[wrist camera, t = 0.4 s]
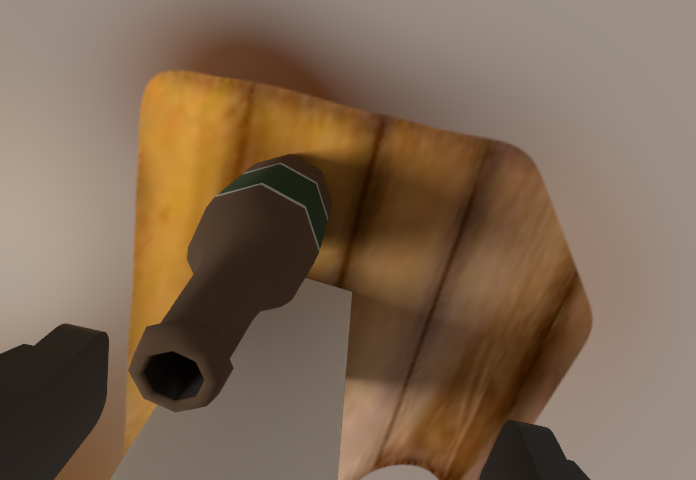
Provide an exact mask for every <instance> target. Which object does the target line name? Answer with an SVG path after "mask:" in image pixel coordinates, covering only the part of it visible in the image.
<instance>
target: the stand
mask: <svg viewBox="0 0 696 480" xmlns="http://www.w3.org/2000/svg"><path fill="white" fill-rule="evenodd" d="M351 302H352V291H348V290H345V289H342V288H338V287H335V286H331V285H328V284H325V283H321V282H318V281H315V280H311V279H308V278H305V279H304V281H303V283H302V284H301V286H300V288H299V289H298V291H297V293H296V294H295V296H294V298H293V300H292V301H290V302H289V303H287V304H285V305H284V306H282V307H279V308H274V309H270V310H265V311H261V312H260V313H259V314H258V315H257V316H256V317H255V318H254V319H253V321H252V322H251V324H250V326H249V327H248V329H247V331H246V333H245V334H244V336H243V338H242V339H241V341H240V343H239V344H238V346H237V348H236V350H235V351H234V353H233V355H232V356H231V358H230V361H231V363H232V365H233V367H234V369H233V370H232V372H231V374H230V376H229V377H228V379H227V381H226V383H225V385H224V386H223V388H222V390H221V392H220V393H219V395H218V396H217V397H216V398H215V399H214V400H213V401H212V402H211V403H210V404H209V405H208V406H206V407H201V408H196V409H191V410H186V411H181V412H176V413H175V412H173V411H171V410H169V409H166V408H164V407H162V406H160V405H157V406H156V408H155V409H154V411H153V412H152V414H151V416H150V417H149V419H148V420H147V422H146V423H145V425H144V427H143V428H142V430H141V431H140V433H139V435H138V436H137V438H136V439H135V441H134V442H133V444H132V446H131V447H130V449H129V450H128V452H127V454H126V455H125V457H124V458H123V460H122V461H121V463H120V465H119V466H118V468H117V470H116V471H115V473H114V474H113V476H112V477H111V479H110V480H338V467H339V454H340V442H341V429H342V416H343V404H344V391H345V378H346V366H347V353H348V340H349V327H350V315H351Z"/></svg>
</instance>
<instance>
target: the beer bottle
mask: <svg viewBox="0 0 696 480" xmlns="http://www.w3.org/2000/svg"><path fill="white" fill-rule="evenodd" d="M330 211H331V201H330V198H329V195H328V191H327V188H326V185H325V182H324V178H323V175H322V172H321V171H320V170H318V169H316V168H315V167H313V166H311V165H309V164H307V163H306V162H304V161H302V160H300V159H298V158H297V157H295V156H293V155H291V154H288V155H285V156H281V157H278V158H274V159H270V160H267V161H263V162H260V163H257V164H255V165H253V166H251V167H250V168H249V169H248V170H247V171H245V172H244V173H243V174H242V175H241V176H239V177H238V178H237V179H236V180H235V181H233V182H232V183H231V184H230V185H229V186H227V187H226V188H225V189H224V190H223V191H222V192H220V193H219V194H218V195H217V196H216V197H215V198H214V199H213V200H212V201H211V202H210V204H209V205H208V206H207V207H206V209H205V212H204V214H203V216H202V218H201V220H200V223H199V225H198V227H197V229H196V231H195V233H194V236H193V238H192V240H191V242H190V244H189V247H188V254H187V260H188V263H189V265H190V267H191V269H192V272H193V274H194V275H193V276H192V278H191V279H190V281H189V282H188V284H187V285H186V287H185V288H184V289H183V291H182V292H181V294H180V295H179V297H178V298H177V300H176V301H175V303H174V304H173V306H172V307H171V309H170V310H169V311H168V313H167V314H166V316H165V317H164V319H163V320H162V322H161V323H160V324H156V325H152V326H148V327H146V329H145V331H144V333H143V336H142V338H141V340H140V342H139V344H138V347H137V349H136V351H135V353H134V356H133V359H132V362H131V365H130V368H129V370H128V371H129V373H130V374H131V376H132V378H133V380H134V382H135V383H136V385H137V387H138V389H139V391H140V393H141V394H142V396H143V398H144V399H146V400H149V401H151V402H153V403H155V404H157V405H160V406H162V407H164V408H166V409H169V410H171V411H173V412H175V413H176V412H181V411H186V410H191V409H196V408H201V407H206V406H208V405H209V404H210V403H211V402H212V401H213V400H214V399H215V398H216V397H217V396H218V395H219V393H220V392H221V390H222V388H223V386H224V385H225V383H226V381H227V379H228V377H229V376H230V374H231V372H232V370H233V369H234V367H233V365H232V363H231V361H230V358H231V356H232V355H233V353H234V351H235V350H236V348H237V346H238V344H239V343H240V341H241V339H242V338H243V336H244V334H245V333H246V331H247V329H248V327H249V326H250V324H251V322H252V321H253V319H254V318H255V317H256V316H257V315H258V314H259V313H260V312H261V311H265V310H270V309H274V308H279V307H282V306H284V305H285V304H287V303H289V302H290V301H292V300H293V298H294V296H295V294H296V293H297V291H298V289H299V288H300V286H301V284H302V283H303V281H304V279H305V277H306V276H307V274H308V272H309V271H310V269H311V267H312V265H313V264H314V262H315V260H316V258H317V256H318V253H319V251H320V247H321V244H322V240H323V236H324V233H325V229H326V225H327V222H328V218H329V215H330Z"/></svg>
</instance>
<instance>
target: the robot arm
mask: <svg viewBox="0 0 696 480" xmlns="http://www.w3.org/2000/svg"><path fill="white" fill-rule="evenodd" d="M108 353H109V338H108V335H107V333H105V332H103V331H98V330H93V329H89V328H84V327H80V326H75V325H71V324H61V325H59V326H58V327H56V328H55V329H54V330H53V331H52V332H50V333H49V334H48V335H47V336H45V337H44V338H43V339H42V340H40V341H39V342H38V343H37V344H36V345H34V346H32V345H27V344H22V345H20V346H18V347H15V348H13V349H11V350H8V351H6V352H4V353H1V354H0V480H54V479H55V477H56V476H57V475H58V473H59V472H60V471H61V469H62V468H63V467H64V466H65V464H66V463H67V462H68V461H69V459H70V458H71V457H72V455H73V454H74V453H75V451H76V450H77V449H78V448H79V446H80V445H81V444H82V442H83V441H84V440H85V438H86V437H87V436H88V435H89V433H90V432H91V431H92V429H93V428H94V426H95V425H96V423H97V421H98V420H99V418H100V415H101V413H102V411H103V408H104V405H105V401H106V396H107V375H108ZM479 480H590V479H589V478H588V477H587V475H586V474H585V473H584V472H583V471H582V470H581V469H580V468H579V467H578V465H577V464H576V463H575V462H574V461H571V460H567V459H566V457H565V455H564V453H563V451H562V449H561V447H560V445H559V443H558V442H557V440H556V438H555V436H554V434H553V432H552V431H551V430H550V429H548V428H546V427H542V426H538V425H533V424H529V423H524V422H520V421H515V420H508V421H507V422H506V423H505V424H504V425H503V427H502V429H501V431H500V433H499V436H498V438H497V440H496V442H495V444H494V446H493V449H492V451H491V453H490V455H489V457H488V459H487V462H486V464H485V466H484V468H483V470H482V473H481V475H480V479H479Z"/></svg>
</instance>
